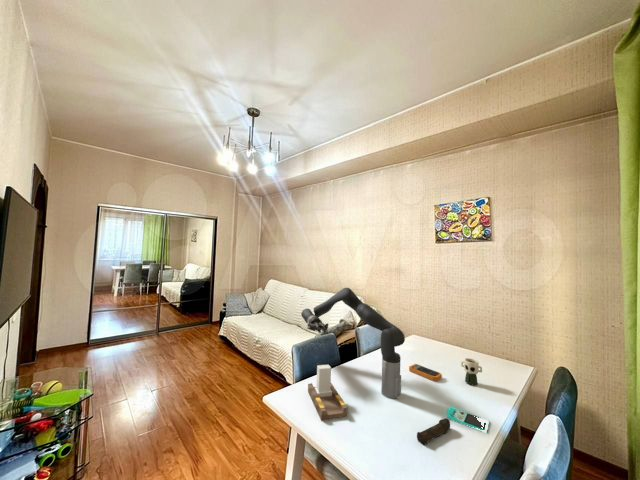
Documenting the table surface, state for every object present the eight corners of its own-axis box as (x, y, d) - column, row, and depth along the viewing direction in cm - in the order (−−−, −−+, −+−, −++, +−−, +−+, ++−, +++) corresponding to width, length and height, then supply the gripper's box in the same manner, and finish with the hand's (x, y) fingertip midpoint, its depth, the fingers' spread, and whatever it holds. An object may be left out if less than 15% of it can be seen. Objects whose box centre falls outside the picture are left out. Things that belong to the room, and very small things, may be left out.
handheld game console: (450, 408, 125) (450, 405, 125) (490, 423, 115) (490, 420, 115) (445, 418, 117) (445, 415, 117) (487, 435, 107) (487, 431, 107)
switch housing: (307, 391, 134) (308, 383, 134) (329, 389, 138) (330, 381, 138) (321, 420, 111) (321, 410, 111) (347, 416, 115) (347, 407, 115)
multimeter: (436, 383, 149) (436, 377, 149) (408, 371, 163) (408, 366, 163) (443, 379, 155) (443, 373, 155) (415, 368, 169) (415, 362, 169)
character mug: (458, 381, 151) (459, 359, 152) (463, 378, 156) (463, 356, 157) (480, 389, 143) (480, 365, 144) (483, 385, 148) (484, 362, 149)
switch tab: (314, 391, 131) (315, 364, 132) (328, 389, 133) (329, 363, 134) (317, 397, 125) (318, 370, 126) (332, 395, 127) (333, 368, 128)
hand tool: (424, 447, 98) (425, 435, 98) (416, 440, 102) (416, 428, 102) (455, 433, 107) (456, 421, 107) (447, 427, 111) (447, 415, 111)
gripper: (303, 316, 162) (310, 324, 145) (325, 316, 166) (334, 323, 149) (303, 329, 161) (310, 338, 145) (324, 328, 165) (333, 336, 149)
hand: (322, 330), depth 147 cm, fingers closed
